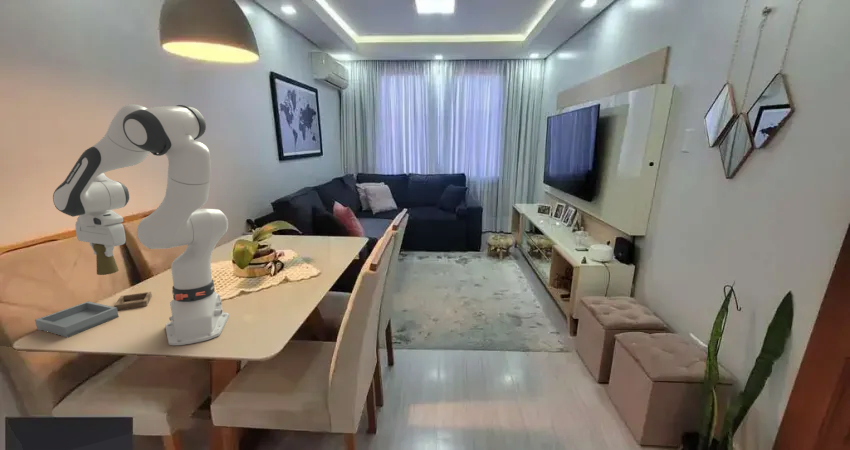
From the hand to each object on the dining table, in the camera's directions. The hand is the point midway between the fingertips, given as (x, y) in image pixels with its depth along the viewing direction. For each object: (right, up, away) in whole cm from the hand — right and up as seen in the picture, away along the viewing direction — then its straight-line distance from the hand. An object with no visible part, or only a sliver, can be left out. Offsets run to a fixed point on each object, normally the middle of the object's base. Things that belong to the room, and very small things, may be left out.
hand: (103, 255), depth 131 cm
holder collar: (+2, -19, +11) cm, 22 cm away
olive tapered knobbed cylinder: (0, -6, +2) cm, 7 cm away
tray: (-4, -23, -5) cm, 24 cm away
